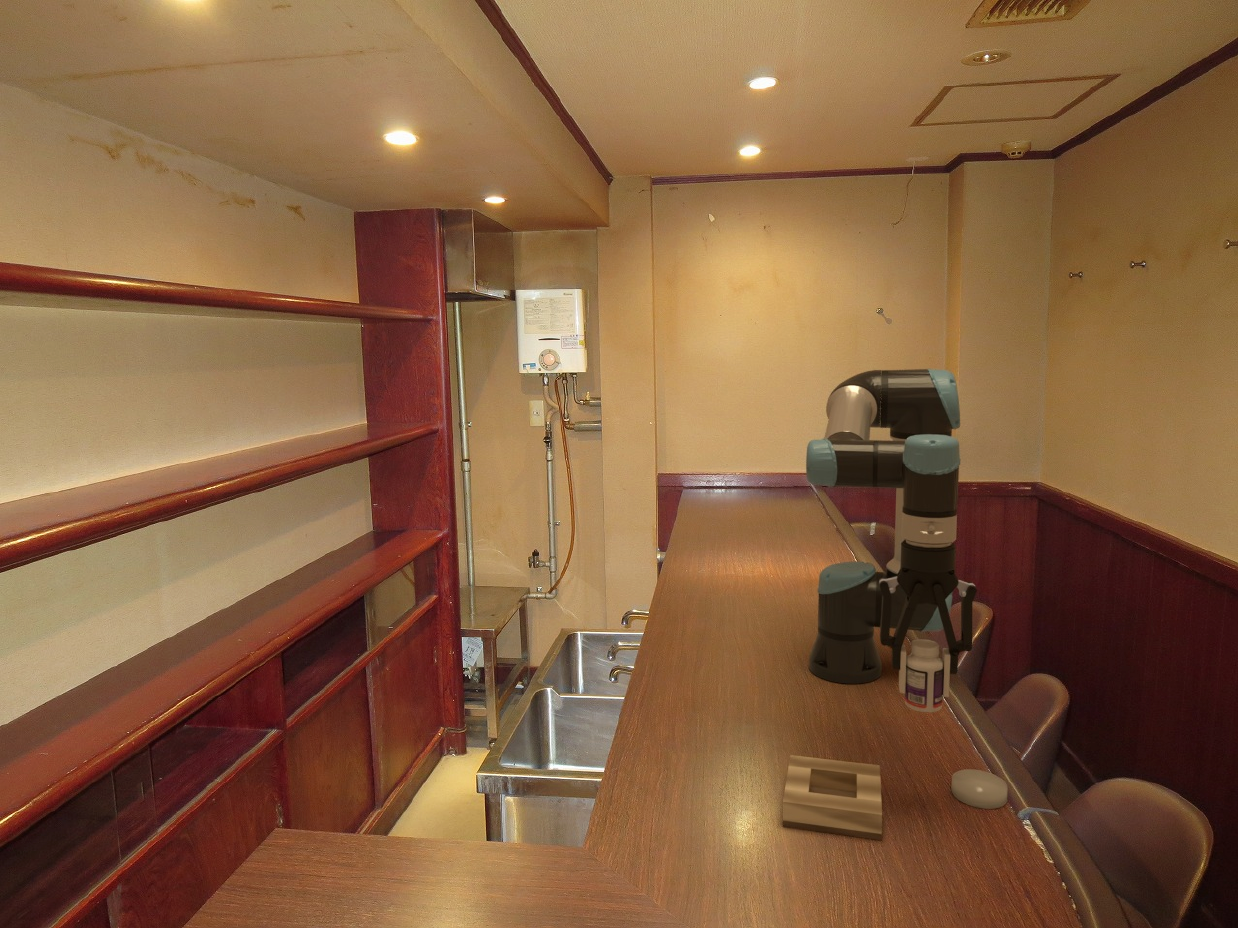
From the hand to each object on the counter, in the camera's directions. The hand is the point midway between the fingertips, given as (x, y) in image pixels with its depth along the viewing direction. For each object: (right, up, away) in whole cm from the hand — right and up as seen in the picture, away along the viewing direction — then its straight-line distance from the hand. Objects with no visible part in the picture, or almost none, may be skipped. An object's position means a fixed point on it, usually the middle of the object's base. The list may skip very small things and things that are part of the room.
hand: (923, 690), depth 123 cm
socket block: (-13, -19, +3) cm, 23 cm away
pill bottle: (0, -2, 0) cm, 3 cm away
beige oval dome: (+11, -18, +6) cm, 22 cm away
